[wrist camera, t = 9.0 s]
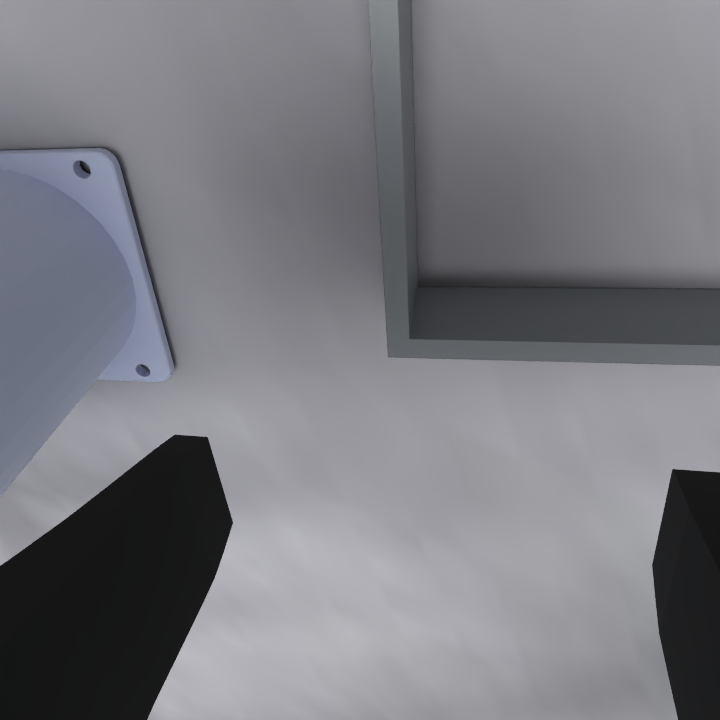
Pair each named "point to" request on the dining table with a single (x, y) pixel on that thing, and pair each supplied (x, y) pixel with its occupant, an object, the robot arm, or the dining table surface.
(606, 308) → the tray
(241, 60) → the dining table surface
